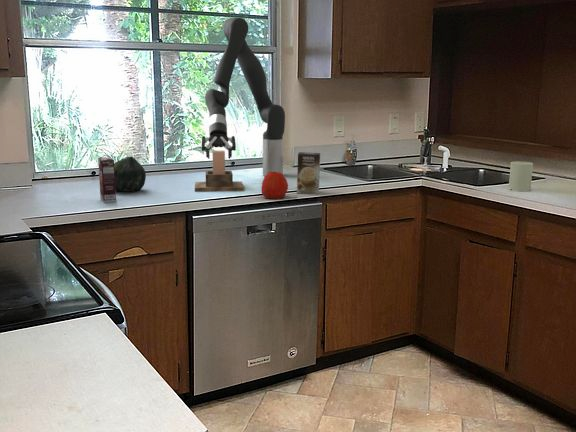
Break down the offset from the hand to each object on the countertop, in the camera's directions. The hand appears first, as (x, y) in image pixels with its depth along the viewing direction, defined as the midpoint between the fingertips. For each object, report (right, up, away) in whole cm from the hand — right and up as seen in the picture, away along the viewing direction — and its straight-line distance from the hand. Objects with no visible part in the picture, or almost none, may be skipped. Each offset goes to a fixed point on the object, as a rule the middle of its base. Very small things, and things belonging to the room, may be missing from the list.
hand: (219, 157), depth 265 cm
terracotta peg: (0, -11, +3) cm, 12 cm away
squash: (-37, -14, -5) cm, 40 cm away
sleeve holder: (0, -12, +4) cm, 13 cm away
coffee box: (+37, -15, -3) cm, 40 cm away
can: (+128, -13, +9) cm, 129 cm away
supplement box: (-39, -19, -25) cm, 50 cm away
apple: (+23, -17, -15) cm, 33 cm away
